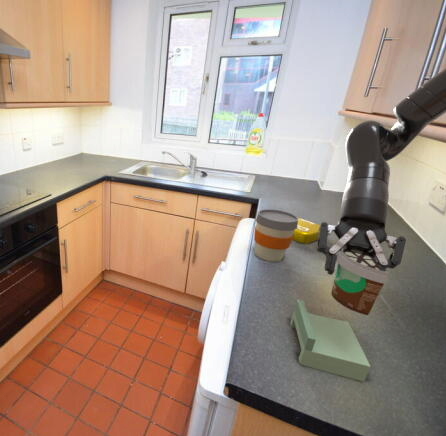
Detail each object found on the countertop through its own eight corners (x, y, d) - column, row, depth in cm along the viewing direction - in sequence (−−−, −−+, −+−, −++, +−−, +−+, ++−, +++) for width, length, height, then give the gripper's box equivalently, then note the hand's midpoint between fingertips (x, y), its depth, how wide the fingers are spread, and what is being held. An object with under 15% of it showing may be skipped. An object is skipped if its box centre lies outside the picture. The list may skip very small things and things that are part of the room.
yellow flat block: (325, 237, 119) (328, 226, 118) (305, 245, 112) (308, 233, 110) (289, 224, 131) (292, 214, 129) (268, 230, 124) (271, 220, 122)
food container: (319, 278, 67) (332, 238, 63) (351, 284, 65) (367, 244, 61) (331, 311, 56) (347, 266, 53) (370, 320, 54) (390, 274, 50)
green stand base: (343, 335, 68) (352, 311, 66) (363, 382, 57) (376, 354, 54) (290, 323, 72) (297, 299, 69) (299, 364, 61) (308, 337, 58)
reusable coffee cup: (293, 266, 97) (305, 224, 92) (253, 262, 99) (262, 220, 94) (281, 248, 109) (291, 210, 103) (245, 245, 111) (253, 207, 105)
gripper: (327, 190, 62) (312, 262, 57) (417, 202, 56) (410, 286, 51) (319, 206, 69) (306, 273, 64) (400, 219, 62) (392, 295, 57)
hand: (352, 278), depth 57 cm, fingers closed on food container, 6 cm apart
